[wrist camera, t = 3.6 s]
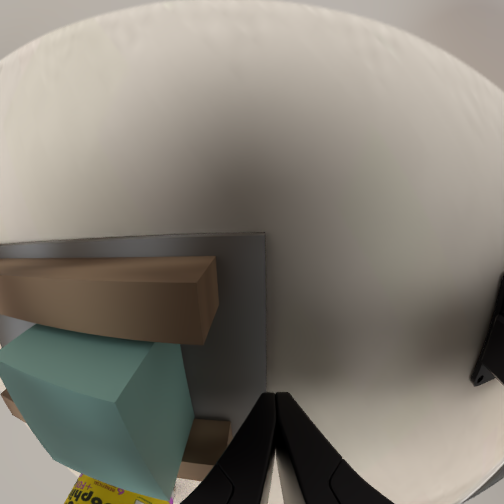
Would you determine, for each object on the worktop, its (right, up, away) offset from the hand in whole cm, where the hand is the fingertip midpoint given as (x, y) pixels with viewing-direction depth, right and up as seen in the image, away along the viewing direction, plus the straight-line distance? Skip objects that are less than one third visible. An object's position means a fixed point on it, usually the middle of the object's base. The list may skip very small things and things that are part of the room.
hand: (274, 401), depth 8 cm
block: (-6, 0, +2) cm, 6 cm away
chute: (-8, 0, +2) cm, 8 cm away
